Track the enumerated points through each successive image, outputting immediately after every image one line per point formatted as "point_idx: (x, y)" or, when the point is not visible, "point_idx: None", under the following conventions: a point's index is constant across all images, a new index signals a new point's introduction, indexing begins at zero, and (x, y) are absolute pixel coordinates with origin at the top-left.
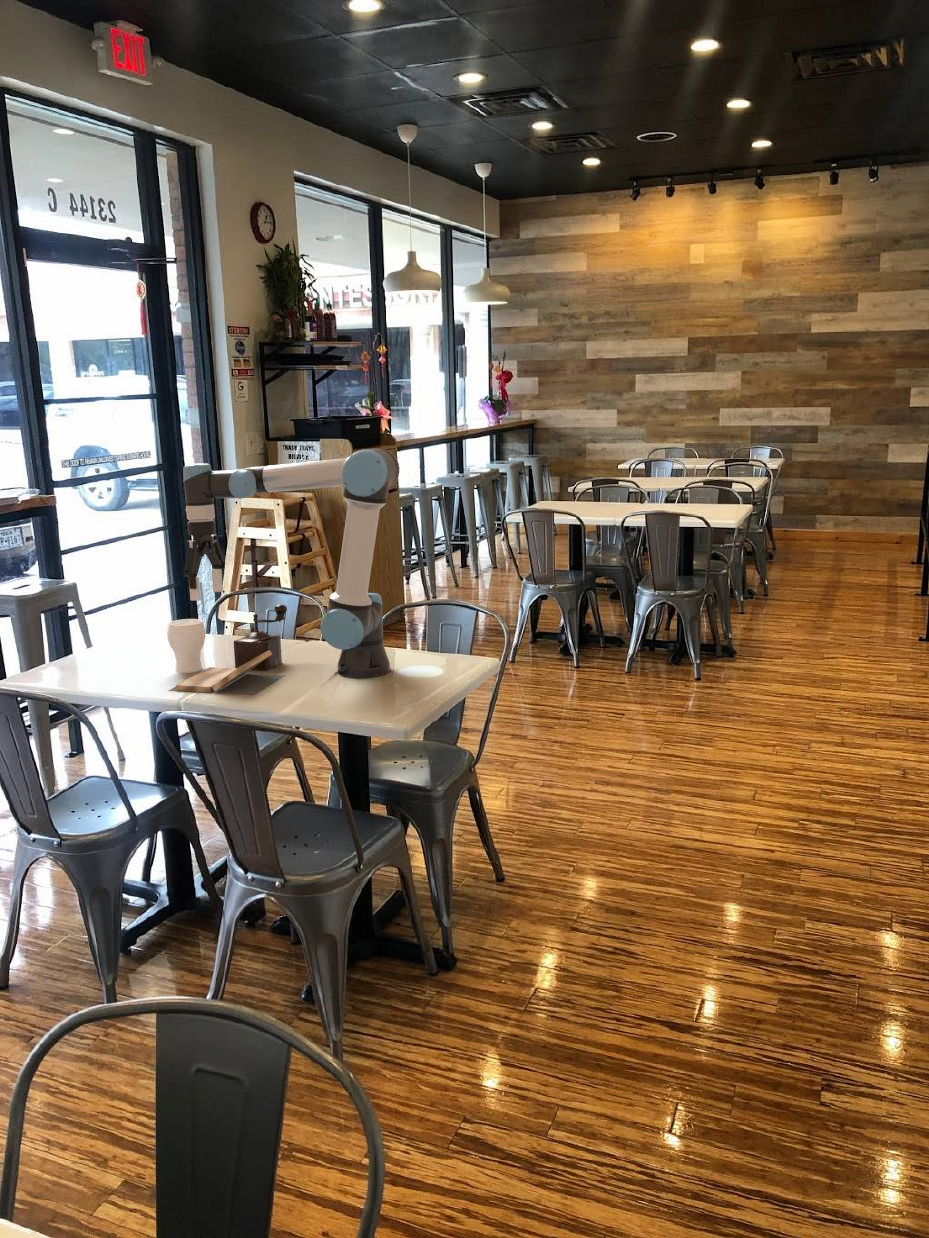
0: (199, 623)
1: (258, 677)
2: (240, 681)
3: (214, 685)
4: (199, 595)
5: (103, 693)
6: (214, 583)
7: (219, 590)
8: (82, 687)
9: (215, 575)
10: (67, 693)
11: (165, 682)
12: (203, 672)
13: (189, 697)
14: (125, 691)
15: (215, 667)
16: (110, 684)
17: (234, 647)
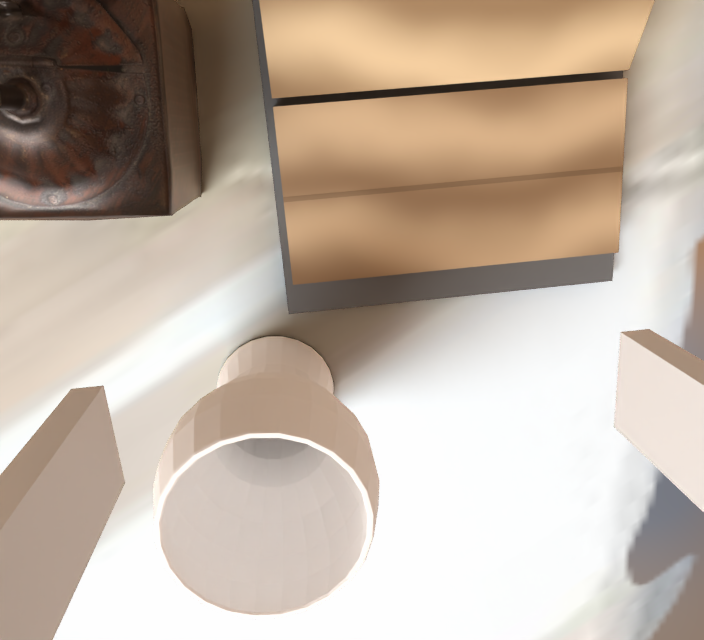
0: (267, 431)
1: None
2: None
3: (633, 51)
4: (676, 348)
5: (621, 505)
6: (91, 523)
7: (105, 421)
8: (559, 613)
9: (44, 581)
10: (635, 607)
11: (440, 391)
12: (392, 257)
13: (635, 164)
14: (586, 453)
15: (291, 254)
16: (507, 556)
17: (178, 206)
